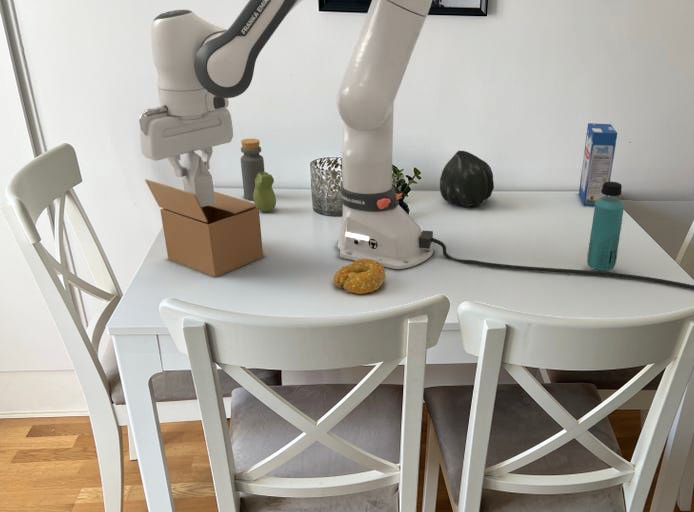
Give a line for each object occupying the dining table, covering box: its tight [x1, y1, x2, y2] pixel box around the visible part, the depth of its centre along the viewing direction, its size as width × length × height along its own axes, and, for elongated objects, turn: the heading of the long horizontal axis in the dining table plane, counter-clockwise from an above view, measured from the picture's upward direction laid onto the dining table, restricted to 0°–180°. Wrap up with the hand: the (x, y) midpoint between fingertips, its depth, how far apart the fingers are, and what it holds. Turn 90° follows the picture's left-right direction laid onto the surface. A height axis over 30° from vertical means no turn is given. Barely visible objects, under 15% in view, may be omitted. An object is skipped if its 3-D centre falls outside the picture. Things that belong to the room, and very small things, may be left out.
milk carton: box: [578, 122, 618, 208], centre depth 204 cm, size 10×6×20 cm, turn 179°
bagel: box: [332, 259, 387, 295], centre depth 154 cm, size 10×11×5 cm
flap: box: [144, 178, 208, 222], centre depth 151 cm, size 15×7×1 cm
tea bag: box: [181, 151, 216, 207], centre depth 150 cm, size 4×7×10 cm, turn 37°
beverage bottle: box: [586, 181, 625, 271], centre depth 162 cm, size 6×7×20 cm
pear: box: [253, 171, 277, 213], centre depth 189 cm, size 6×5×10 cm
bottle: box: [240, 138, 266, 201], centre depth 196 cm, size 6×6×15 cm
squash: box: [439, 150, 495, 208], centre depth 200 cm, size 14×15×15 cm
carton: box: [159, 191, 264, 278], centre depth 161 cm, size 15×14×12 cm
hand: (193, 172), depth 152 cm, fingers closed on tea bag, 4 cm apart
